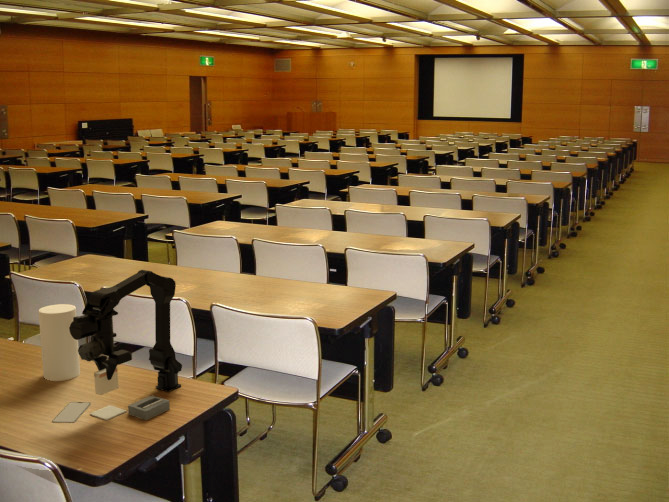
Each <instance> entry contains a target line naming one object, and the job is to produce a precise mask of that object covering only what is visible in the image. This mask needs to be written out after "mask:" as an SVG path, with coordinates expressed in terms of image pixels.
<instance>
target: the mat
mask: <svg viewBox="0 0 669 502" xmlns="http://www.w3.org/2000/svg"><path fill="white" fill-rule="evenodd" d="M127 411H128V410H126V409H123V408H120V407H117V406H114V405H111V404H108V405H107V406H104V407H102V408H100V409H97V410H95V411H92V412H90V413H89V415H90V416H92V417H95V418H97V419H101V420H103V421H106V422H107V421H109V420H111V419H114V418H115V417H118V416H120V415H123V414H125V413H128V412H127Z"/></svg>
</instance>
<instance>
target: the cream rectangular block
mask: <svg viewBox="0 0 669 502" xmlns="http://www.w3.org/2000/svg"><path fill="white" fill-rule="evenodd" d="M118 371H119V370H118V366H117V367H116V369H115V371H114V374H113V376H112V378H111V379H110V380H108V379H107V374H106V368H105V369H102V370H100V371H99V370H98V371H95V372H93V377H94V390H95V391H94V392H95V395H99V396H103V395H105V394H108V393H110V392H113V391H114V390H118V389H119V376H118V375H119V374H118Z"/></svg>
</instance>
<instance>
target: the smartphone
mask: <svg viewBox="0 0 669 502" xmlns="http://www.w3.org/2000/svg"><path fill="white" fill-rule="evenodd" d="M91 405H92V403H91V402H87V401H82V402H81V401H70V402H68V403H67V404H66V406H65V407H63V408H62V410H61V411H60V412H59V413H58V414H57V415H56V416H55V417H54V418H53V419H52V421H51V423H54V424H55V423H59V424H62V423H63V424H64V423H65V424H67V423H68V424H71V423H72V424H74V423H75V422H77V421H78V420H79V418H80V417H81V416H82V415H83V414H84V413H85V412H86V411H87V410H88V409H89V407H90V406H91Z"/></svg>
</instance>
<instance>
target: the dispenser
mask: <svg viewBox="0 0 669 502" xmlns="http://www.w3.org/2000/svg"><path fill="white" fill-rule="evenodd" d="M170 407H171V406H170V400H169V399H165V398H163V397H158V396H156V395H153V394H152V395H149V396H147V397H144V398H142V399H140V400H137V401H135V402H132V403H131V404H128V405H127V411H128V412H127V414H128V415H130V416H132V417H135V418H138V419H141V420H144V421H147V420H150V419H152V418H154V417H157V416H159V415H160V414H163V413H165V412H168V411H170V409H171V408H170Z"/></svg>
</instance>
